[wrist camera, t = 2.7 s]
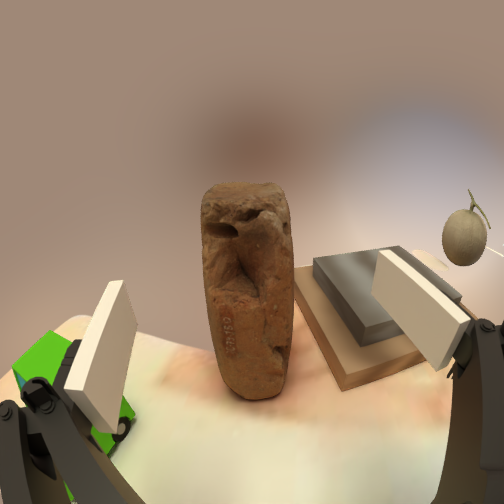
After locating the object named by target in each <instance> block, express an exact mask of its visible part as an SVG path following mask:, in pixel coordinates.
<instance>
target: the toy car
mask: <svg viewBox="0 0 504 504" xmlns="http://www.w3.org/2000/svg"><path fill="white" fill-rule="evenodd" d="M71 343H72V342H70V341H69V340H67V339H65V338H63V337H61V336H60V335H58V334H56V333H54V332H53V331H51V330H49V331H48V332H47V333H46V334H45V335H44V336H43V337H42V338H41V339H40V340H39V341H37V342H36V343H35V344H34V345H33V346H32V347H31V348H30V349H29V350H28V351H27V352H26V353H25V354H24V355H22V356H21V357H20V358H19V359H18V360H17V361H16V362H15V363H14V364H13V365H12V369H13V372H14V375H15V378H16V381H17V384H18V387H19V389H20V392H21V390H22V387H23V386H24V384H25V383H26V382H27V381H28V380H30V379H31V378H34V377H44V378H46V379H47V380H48V382H49V383H50V384H51V386H52V384H53V382H54V379H55V377H56V374H57V372H58V369H59V367H60V366H61V362H62V359H64V355H65V353H66V350H67V348H68V347H69V346H70V345H71ZM21 400H22V399H21ZM25 405H26V404H25ZM26 407H28V406H27V405H26ZM134 416H135V413H134V411H133V410H132V408H131V407H130V405H129V404H128V402H127V401H126V399H125V398H124V396H122V401H121V407H120V413H119V420H118V426H117V434H113V433H102V432H98V430H97V429H96V428H95V427H94V426H93V425H92V429H91V434H92V435H93V436H94V437H95V439H96V440H97V442H98V443H99V445H100V446H101V448H102V449H103V451H104V452H105V454H106V455H107V454H108V453H109V451H110V450H111V448H112V447H113V446H114V444H115V443H116V442H115V441H121V440H123V439H124V438H125V437H126V436H127V434H128V432H129V430H130V421H129V420H132V419H133V417H134ZM114 440H115V441H114ZM64 484H65V487H66V490H67V493H68V496H69V499H70V501H72V500H73V499H74V497H73V495H72V494H71V492H70V490H69V489H68V487H67V485H66V483H65V482H64Z"/></svg>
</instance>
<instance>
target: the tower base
mask: <svg viewBox="0 0 504 504" xmlns="http://www.w3.org/2000/svg"><path fill="white" fill-rule="evenodd" d="M382 250H391V251H392V252H393V253H395V254H396V255H397V256H398V257H400V258H401V259H402V260H404V261H405V262H406V263H407V264H408V265H410V266H411V267H412V268H413V269H415V270H416V271H417V272H418V273H420V274H421V275H422V276H423V277H424V278H426V279H427V280H428V281H429V282H430V283H431V284H433V285H434V286H435V287H436V288H438V289H440V290H442V291H444V292H445V293H447V294H448V295H449V296H450V297H451V298H452V300H455V301H456V302H457V304H459V305H460V306H461V307H462V308H464V309H465V310H466V311H467V312H468V313H469V314H470V315H471V316H472V317H473V318H474V319H475V320H477V319H478V318H477V317H476V316H475V315H474V314H473V313H471V311H469V310H468V309H467V308H466V307H465V306H464V305H463V304H462V303H461V302H460V301H461V298H462V295H461V294H460V293H459V292H457V291H456V290H455V289H454V288H453V287H451V286H450V285H449V284H448V283H447V282H445V281H444V280H443V279H442V278H440V277H439V276H438V275H437V274H435V273H434V272H433V271H432V270H430V269H429V268H428V267H427V266H425V265H424V264H423V263H422V262H420V261H419V260H418V259H416V258H415V257H414V256H412V255H411V254H410V253H408V252H407V251H406V250H404V249H403V248H402V247H400V246H393V247H386V248H380V249H373V250H366V251H359V252H353V253H345V254H338V255H332V256H324V257H318V258H313V265H312V266H305V267H298V268H294V298H295V299H296V301H297V303H298V305H299V307H300V309H301V311H302V313H303V315H304V317H305V319H306V321H307V323H308V325H309V327H310V329H311V331H312V333H313V335H314V337H315V339H316V341H317V343H318V345H319V347H320V349H321V351H322V353H323V355H324V357H325V359H326V361H327V363H328V365H329V367H330V369H331V371H332V373H333V375H334V377H335V379H336V381H337V383H338V385H339V387H340V389H341V391H345V390H348V389H351V388H354V387H358V386H361V385H364V384H367V383H370V382H372V381H375V380H378V379H381V378H384V377H386V376H389V375H392V374H394V373H397V372H399V371H402V370H404V369H407V368H409V367H412V366H414V365H416V364H419V363H421V362H423V361H425V360H426V358H425V357H424V356H423V355H422V353H421V352H420V351H419V350H418V348H417V347H416V346H415V345H414V343H413V342H412V341H411V340H410V339H409V337H408V336H407V335H406V334H405V333H404V331H403V330H402V329H401V328H400V327H399V325H398V324H397V323H396V322H395V321H394V320H393V318H392V317H391V316H390V315H389V314H388V313H387V311H386V310H385V309H384V308H383V307H382V306H381V305H380V303H379V302H378V301H377V300H376V299H375V298H374V297H373V296H372V294H371V290H372V285H373V280H374V274H375V269H376V263H377V257H378V251H382Z"/></svg>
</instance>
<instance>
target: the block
mask: <svg viewBox="0 0 504 504" xmlns="http://www.w3.org/2000/svg"><path fill="white" fill-rule="evenodd" d="M201 233H202V246H203V249H202V259H203V277H204V288H205V296H206V303H207V312H208V319H209V325H210V330H211V336H212V341H213V345H214V349H215V354H216V358H217V362H218V366H219V369H220V373H221V376H222V378H223V380H224V382H225V383H226V384H227V385H228V386H229V387H230V388H231V389H232V390H233V391H235V392H236V393H238V394H239V395H240V396H241V397H243V398H245V399H263V398H270V397H272V396H275V395H277V394H278V393H279V392H280V391H281V389H282V387H283V383H284V380H285V376H286V372H287V367H288V359H289V354H290V348H291V341H292V330H293V316H294V255H293V243H292V237H291V225H290V212H289V207H288V203H287V200H286V198H285V194H284V191H283V190H282V189H281V188H280V187H279V186H278V185H277V184H275V183H264V184H255V183H253V184H250V183H247V182H232V183H221V184H217V185H215V186H213V187H212V188H211V189H210V190H208V191H207V192H206V193H205V195H204V196H203V199H202V204H201Z"/></svg>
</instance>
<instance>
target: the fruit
mask: <svg viewBox="0 0 504 504" xmlns="http://www.w3.org/2000/svg"><path fill="white" fill-rule="evenodd" d="M468 191H469V189H468ZM469 194H470V196H471V199H472V202H471V207H470V210H464V209H463V210H458V211H456V212H454V213H453V214H452V215H451V216H450V217H449V218H448V220H447V222H446V223H445V226H444V229H443V234H442V245H443V249H444V252H445V254H446V256H447V258H448V259H449V260H450V261H451V262H452V263H454V264H455V265H458V266H469V265H472V264H474V263H475V262H476V261H478V260H479V258H480V257H481V255H482V254H483V251H484V249H485V245H486V241H487V231H486V226H485V224H484V222H483V220H482V218H481V217H480V216H479V215H478V214H477V213H475V212H473V208H474V207H475V206H476V207H477V208H478V209H479V210H480V212H481V213H482V214H483V216H484V217H485V219H486V221H487V223H488V226H489V229H491V227H490V225H489V222H488V220H487V218H486V216H485V214H484V213H483V211H482V210H481V209H480V207H479V206H478V205H477V204H476V203H475V201H474V198H473V196H472V194H471V192H470V191H469Z"/></svg>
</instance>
